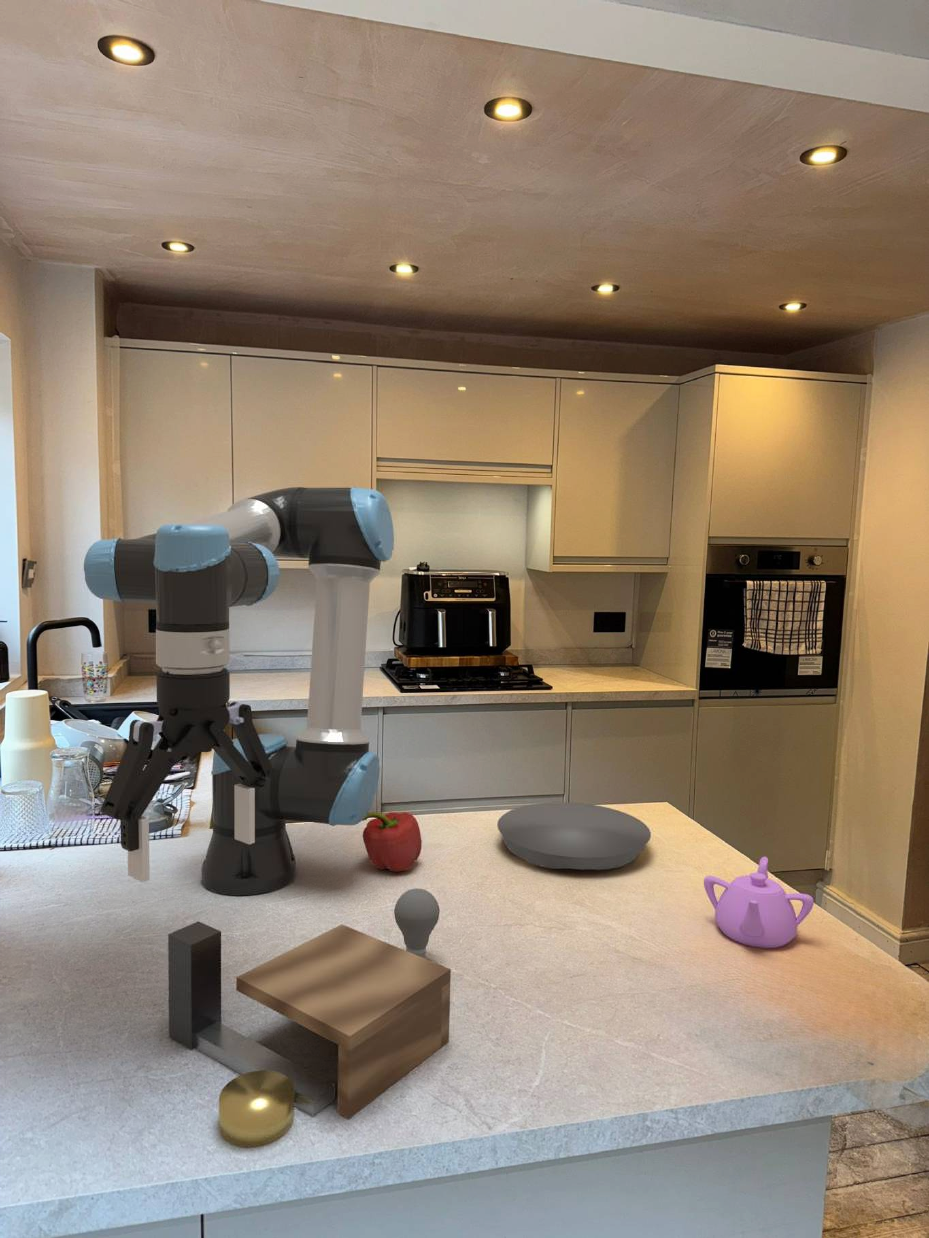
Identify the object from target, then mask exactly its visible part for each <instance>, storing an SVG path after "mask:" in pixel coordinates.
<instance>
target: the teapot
mask: <svg viewBox="0 0 929 1238" xmlns="http://www.w3.org/2000/svg"><path fill="white" fill-rule="evenodd" d="M768 863H769V859H768V857H767V856H762V857H761V858H760V859H759V862H758V867H757V868H758V869H757V871H756V872H751V873H750V874H749V875H739V876H737V877H735V878H734V879H733V880H732V881H731V882H730V883H729V882H728V881H726V880H724V879H721V877H718V876H717V877H716V876H713V875H707V876H705V877H704V879H703V887H704V890H705V892H706V894H707V897H708V899H709V901H710V903H711V905H712V906H713V908H714V911H715V912H714V920H715V923H716V924H717V926H718V927H719V929H720V930H721V932H722V933H723V935H725V936H726V937H728V938H729V939H730V940H731V941H732V940H733V941H734V942H736V943H739V944H741V945H744V946H748V947H753V948H758V949H759V948H761V949H776V948H781V947H784V946H785V945H787V944H788V943H789V942H791V941H792V940H793V939H794V938H795V937H796V936H797V933H798V927H799V926H800V924H801V923H802V922H803V921H804V920H805V919H806V918H807V916H808V915H809V914H810V913H811V912H812V909H813V907H814V903H815V902H814V901H815V900H814V898H813V896H811V895H809V894H807V893H799V892H798V893H786V892H787V891H785V889H784V887H782V885H781V883H778V882H777V881H775V880H773V879H771V878H769V874H768ZM714 885H718V886H721V887H723V888H725V889H724V891H723V892H722V894H721V895H720V897H719V899H717V896H716V894H715V888H714ZM792 900H793V901H800V902H801V903H802V907H801V910H800V912H799V914H798V915H797V916H796V911H795V909H794V906H793V904H792V902H791V901H792Z"/></svg>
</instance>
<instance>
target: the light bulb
mask: <svg viewBox="0 0 929 1238" xmlns="http://www.w3.org/2000/svg"><path fill="white" fill-rule="evenodd" d="M393 912H394V913H393V914H394V920H395V923H396V925H397V926H398V928H399V931H401V934H402V936H403V942H404V945H405V947H406V949H405V951H408V952H410V953H412V954H415V955H417V956H420V957H422V958H425V959H427V954H426V953H427V946H428V944H429V941H430V935H431V934H432V931H434V929H435V927H436V925H437V924H438V921H439V918H440V905H439V902H438V900H437V899H436V897H435V896H434V895H433V894H432V893H431V892H430V891H428V890H427V889H423V888H412V889H408V890H407V891H405V892H404V893H402V894H401V895H400V896H399V898H398V899H397V900H396V903H395V904H394V909H393Z"/></svg>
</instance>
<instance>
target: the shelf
mask: <svg viewBox="0 0 929 1238" xmlns="http://www.w3.org/2000/svg"><path fill="white" fill-rule="evenodd" d="M451 971H452V969H451V968H449V967H446V966H443V965H441V964H439V963H436V962H434V961H431V960H429V959H427V958H426V959H425V958H422V957H420V956H417V955H415V954H412V953H410V952H408V951H406V949H402V948H401V947H398V946H395V945H393V944H391V943H387V942H386V941H383V940H382V939H381V940H380V939H378V938H376V937H373V936H371V935H369V934H366V933H364V932H361V931H359V930H357V929H354V928H352V927H349V926H347V925H345V924H339V925H337V926H336V927H335V926H334V928H332V929H330V930H328V931H325V932H324V933H322V934H319V935H317V936H316V937H314V938H312V939H309V940H308V941H306V942H304V943H302V944H300V945H298V946H296V947H293V948H292V949H289V950H287V951H286V952H284V953H282V954H280V955H277V956H276V957H274V958H272V959H270V960H268V961H266V962H264V963H261V964H260V965H258V966H256V967H254V968H252V969H250V970H248V971H246V972H244V973H242V974H240V975H238V976H236V984H235V985H236V990H235V991H236V992H238V993H240V994H242V995H245V996H246V997H247V998H250V999H252V1000H254V1001H255V1002H257V1003H259V1004H261V1005H263V1006H265V1007H267V1008H269V1009H270V1010H273V1012H274V1011H275V1012H276V1013H278V1014H279V1015H281V1016H283V1017H285V1018H287V1019H289V1020H291V1021H292V1022H294V1023H296V1024H298V1025H300V1026H303V1027H304V1028H306V1029H308V1030H309V1031H311V1032H313V1033H315V1034H316V1035H319V1036H321V1037H323V1038H324V1039H327V1040H328V1041H330V1042H332V1043H334V1044H336V1045H338V1046H337V1047H338V1049H337V1051H338V1052H337V1053H338V1054H337V1055H338V1057H337V1058H338V1059H337V1060H338V1061H337V1065H338V1066H337V1073H338V1074H337V1113H338V1114H340V1115H341V1116H343V1117H345V1118H346V1119H348V1120H349V1119H351V1118H352V1117H353V1116H355V1115H356V1114H357V1113H359V1112H360V1111H361V1110H362V1109H364V1108H365V1107H366V1106H368V1105H369V1104H370V1103H371V1102H373V1101H374V1100H375V1099H376V1098H378V1097H379V1096H380V1095H382V1094H383V1093H385V1092H386V1091H387V1090H388V1089H390V1088H391V1087H392V1086H394V1085H395V1084H396V1083H397V1082H399V1081H400V1080H401V1079H402V1078H403V1077H406V1075H407V1074H409V1073H410V1072H411V1071H413V1070H414V1069H416V1067H418V1066H419V1065H420V1064H422V1063H423V1062H424V1061H426V1060H427V1059H428V1058H429V1057H431V1056H432V1055H433V1054H435V1053H436V1052H437V1051H439V1050H440V1049H441V1048H442V1047H444V1046H445V1045H446V1044H447V1043H449V1041H450V1009H451V982H452V981H451V978H452V977H451V975H452V973H451Z"/></svg>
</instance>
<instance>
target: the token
mask: <svg viewBox="0 0 929 1238" xmlns="http://www.w3.org/2000/svg"><path fill="white" fill-rule="evenodd" d="M294 1121H295V1106H294V1086H293V1083H292V1081H291V1080H290V1079H289V1078H288V1077H287V1076H285V1075H284V1074H281V1073H279V1072H275V1071H269V1070H260V1071H253V1072H249V1073H245V1074H243V1075H241V1074H239V1075H238V1076H236V1077H234V1078H232V1079H231V1080H230V1081H229V1082H228V1083H226V1085H224V1087H223V1088H222V1090H221V1091H220V1093H219V1096H218V1130H219V1134H220V1136H221V1138H222V1139H223V1140H224V1141H225V1142H227V1143H228V1144H230V1145H231V1146H235V1147H238V1148H242V1149H243V1148H245V1149H251V1148H252V1149H253V1148H260V1147H265V1146H267V1145H270V1144H272V1143H274V1142H277V1141H278V1140H280V1139H281V1138H283V1137H284V1136H285V1135H286V1134H287V1133H288V1132H289V1131H290V1130H291V1128H292V1126H293V1123H294Z"/></svg>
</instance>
